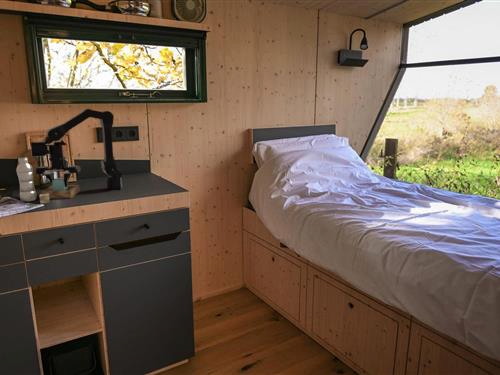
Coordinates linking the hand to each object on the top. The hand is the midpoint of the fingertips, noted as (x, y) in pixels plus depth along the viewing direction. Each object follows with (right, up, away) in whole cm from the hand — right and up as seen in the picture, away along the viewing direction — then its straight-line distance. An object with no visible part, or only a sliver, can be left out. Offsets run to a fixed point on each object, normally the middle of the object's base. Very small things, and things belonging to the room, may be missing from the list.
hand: (60, 187), depth 179 cm
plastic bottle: (-10, -7, -9) cm, 15 cm away
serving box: (0, -4, +1) cm, 4 cm away
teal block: (0, -1, 0) cm, 1 cm away
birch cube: (-1, -7, -11) cm, 13 cm away
